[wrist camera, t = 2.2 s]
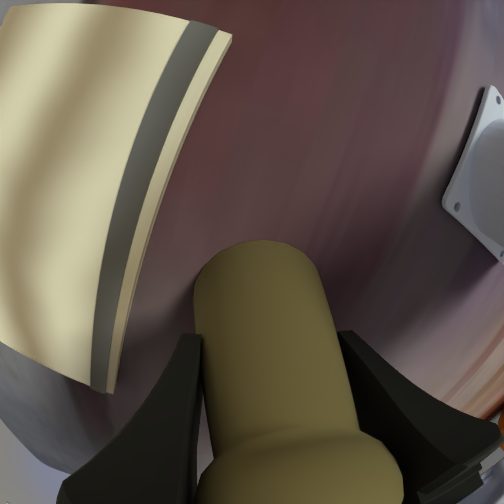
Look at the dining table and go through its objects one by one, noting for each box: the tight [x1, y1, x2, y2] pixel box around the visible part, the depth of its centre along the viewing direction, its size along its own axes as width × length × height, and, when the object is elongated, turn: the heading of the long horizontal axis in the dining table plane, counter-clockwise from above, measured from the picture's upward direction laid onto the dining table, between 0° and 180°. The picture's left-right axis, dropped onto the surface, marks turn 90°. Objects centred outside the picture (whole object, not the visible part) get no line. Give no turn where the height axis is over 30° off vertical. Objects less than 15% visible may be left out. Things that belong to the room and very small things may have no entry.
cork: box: [193, 240, 404, 504], centre depth 8 cm, size 6×6×11 cm
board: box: [0, 3, 232, 394], centre depth 10 cm, size 11×19×1 cm, turn 155°
